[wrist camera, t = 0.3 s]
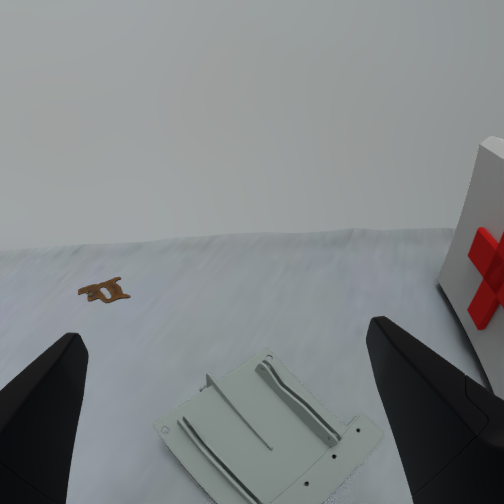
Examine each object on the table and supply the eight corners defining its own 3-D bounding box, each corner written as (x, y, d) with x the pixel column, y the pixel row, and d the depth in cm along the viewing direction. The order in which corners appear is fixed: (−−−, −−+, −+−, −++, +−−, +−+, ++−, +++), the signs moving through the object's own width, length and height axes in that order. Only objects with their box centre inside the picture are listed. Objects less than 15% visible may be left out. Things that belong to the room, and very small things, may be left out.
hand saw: (-36, 351, 26) (-39, 347, 25) (-31, 326, 29) (-34, 322, 28) (132, 301, 35) (130, 297, 34) (125, 278, 38) (123, 274, 38)
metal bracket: (116, 422, 17) (283, 315, 26) (129, 436, 21) (265, 346, 30) (264, 583, 11) (406, 438, 20) (246, 565, 15) (369, 451, 24)
